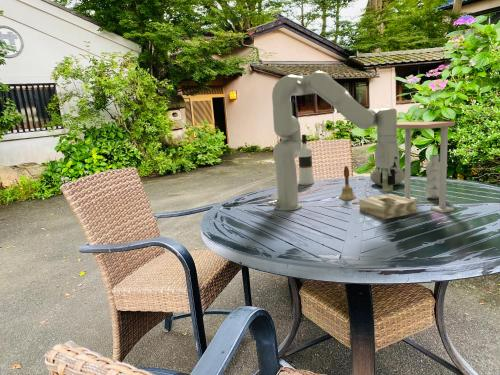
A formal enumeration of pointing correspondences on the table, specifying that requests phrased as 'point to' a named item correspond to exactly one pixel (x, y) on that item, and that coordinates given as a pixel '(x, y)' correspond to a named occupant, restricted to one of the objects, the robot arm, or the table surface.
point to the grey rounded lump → (376, 177)
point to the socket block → (388, 206)
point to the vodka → (305, 164)
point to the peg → (386, 181)
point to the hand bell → (347, 187)
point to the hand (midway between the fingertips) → (387, 183)
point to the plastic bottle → (433, 177)
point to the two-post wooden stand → (443, 159)
